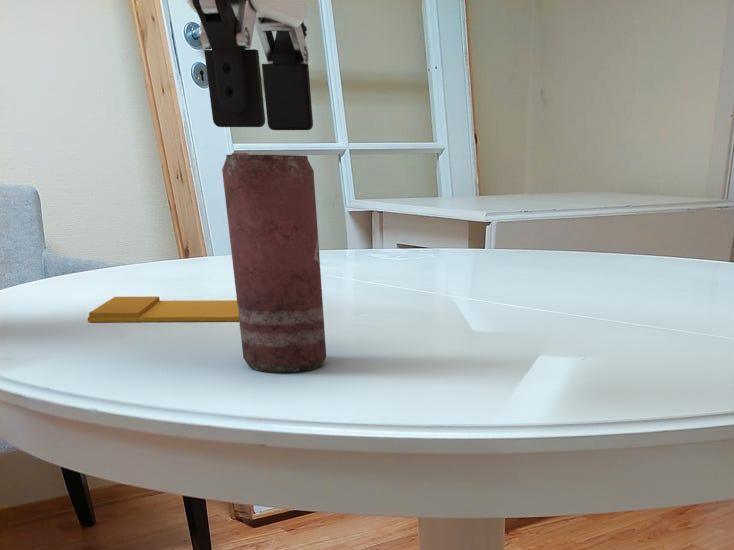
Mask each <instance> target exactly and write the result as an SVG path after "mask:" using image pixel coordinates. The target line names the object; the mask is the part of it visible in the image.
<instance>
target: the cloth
mask: <svg viewBox="0 0 734 550" xmlns="http://www.w3.org/2000/svg"><path fill="white" fill-rule="evenodd" d="M87 322H88V323H136V322H137V323H139V322H145V323H146V322H147V323H149V322H152V323H154V322H155V323H156V322H157V323H159V322H161V323H163V322H165V323H166V322H167V323H168V322H239V314H238V305H237V299H235V300H231V299H230V300H228V299H227V300H160V296H113V297H112V298H110V299H109V300H107V301H106V302H104V303H102V304H101V305H99V306H98V307H96V308H94V309H93V310H91V311H90V312H88V317H87Z"/></svg>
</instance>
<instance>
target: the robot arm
mask: <svg viewBox="0 0 734 550" xmlns="http://www.w3.org/2000/svg"><path fill="white" fill-rule="evenodd" d="M185 1H186V3H187V4H188V6H189V7H190V9H191V10H192V11H193V12H195V14H197V15H198V18H199V20H200V24H199V30H198V31H199V32H198V33H199V40H200V43H201V46H202V48H203V50H204V51H203V52H204V60H205V69H206V74H207V75H206V76H207V84H208V91H209V100H210V107H211V115H212V116H211V117H212V122H213V124H214V125H215V126H216V127H217V128H218V127H219V128H262V127H264V126H265V124H266V120H267V126H268V128H269V129H270V130H272V131H311V130H312V128H313V127H314V120H313V107H312V106H313V105H312V94H311V79H310V67H309V60H310V59H309V49H308V45H307V41H306V37H307V36H308V33H307V32H308V28H307V25H305V23H304V21H305V19H306V18H307V12H308V10H307V9H308V1H307V0H185ZM255 28H256V32H257V35H258V37H259V40H260V44H261V46H262V50H263V53H264V56H265V58H266V62H267V63H261V64H260V53H259V49H255V48H251V47H252V43H253V36H254V29H255ZM273 32H276V33H275V37H274V34H273ZM261 69H262V73H261ZM262 80H263V84H262ZM263 90H264V93H263ZM264 100H265V101H264ZM264 102H265V104H264ZM265 111H266V113H265Z"/></svg>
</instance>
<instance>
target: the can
mask: <svg viewBox="0 0 734 550" xmlns="http://www.w3.org/2000/svg"><path fill="white" fill-rule="evenodd" d="M221 172H222V173H221V174H222V182H223V190H224V198H225V207H226V216H227V217H226V218H227V225H228V233H229V242H230V243H229V244H230V252H231V259H232V270H233V277H234V287H235V296H236V300H237V305H238V314H239V321H238V323H239V332H240V341H241V348H242V357H243V360H244V361H245V363H246V364H247V365H248V367H249V368H250V369H252V370H255V371H258V372H262V373H263V372H265V373H274V374H275V373H276V374H279V373H280V374H281V373H282V374H284V373H286V374H288V373H299V372H307V371H312V370H315V369H319V368H320V367H322V366H323V364H324V363H325V360H326V358H327V347H326V333H325V332H326V330H325V317H324V303H323V302H324V301H323V287H322V274H321V273H322V272H321V260H320V258H321V257H320V246H319V245H320V244H319V242H320V241H319V231H318V229H319V228H318V216H317V215H318V214H317V213H318V212H317V199H316V187H315V186H316V185H315V173H314V172H315V171H314V168H313V166H312V165H311V163H310V161H309V158H308V155H293V154H292V155H291V154H289V155H288V154H250V153H247V152H232V153H231V154H226V155H225V160H224V163H223V166H222V170H221Z"/></svg>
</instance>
